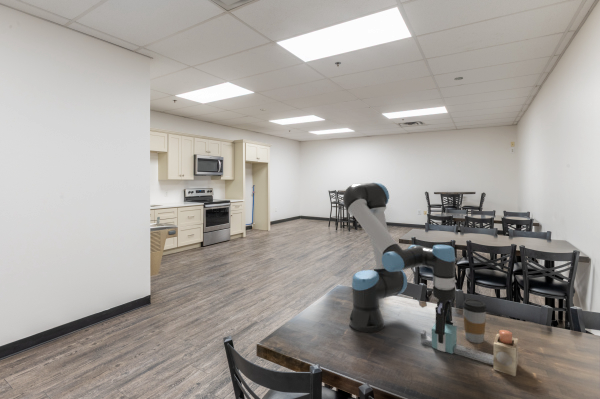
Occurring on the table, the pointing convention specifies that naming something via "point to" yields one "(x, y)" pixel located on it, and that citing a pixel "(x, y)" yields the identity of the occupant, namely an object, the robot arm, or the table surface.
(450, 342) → the block
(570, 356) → the table surface
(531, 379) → the table surface
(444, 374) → the table surface
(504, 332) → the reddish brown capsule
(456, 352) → the rail
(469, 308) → the coffee cup
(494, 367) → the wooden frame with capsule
